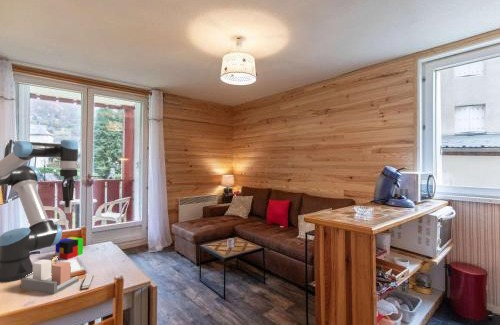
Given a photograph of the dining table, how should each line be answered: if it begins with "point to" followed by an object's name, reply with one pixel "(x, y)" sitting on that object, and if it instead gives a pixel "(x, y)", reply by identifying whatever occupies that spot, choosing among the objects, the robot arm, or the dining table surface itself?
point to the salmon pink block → (61, 272)
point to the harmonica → (87, 282)
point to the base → (46, 285)
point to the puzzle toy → (69, 248)
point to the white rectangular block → (42, 269)
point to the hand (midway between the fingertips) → (67, 212)
